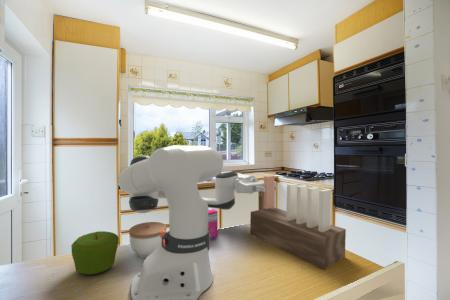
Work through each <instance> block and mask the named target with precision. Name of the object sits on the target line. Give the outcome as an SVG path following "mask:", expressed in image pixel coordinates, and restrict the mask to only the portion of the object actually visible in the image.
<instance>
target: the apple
mask: <svg viewBox="0 0 450 300" xmlns="http://www.w3.org/2000/svg"><path fill="white" fill-rule="evenodd" d="M119 238H120V237H119V235H117V234H116V233H115V232H110V231H101V230H99V231H94V232H90V233H86V234H83V235H81V236H79V237H77V239H75V241H74V242H73V243H72V244H71V256H72V260H73V263H74V267H75V272H77V273H80V274H84V275H98V274H101V273H103V272H105V271H106V270H109V269H110V268H111V267H112V266H114V264H115V260H116V255H117V251H118V250H117V249H118V247H119V240H120V239H119Z"/></svg>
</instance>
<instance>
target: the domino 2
mask: <svg viewBox="0 0 450 300" xmlns="http://www.w3.org/2000/svg"><path fill="white" fill-rule="evenodd" d="M297 186H299V184H298V183H289V184H286V208H285V209H286V210H285V211H286V220H288V221H291V220H295V219H296V209H297Z"/></svg>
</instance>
